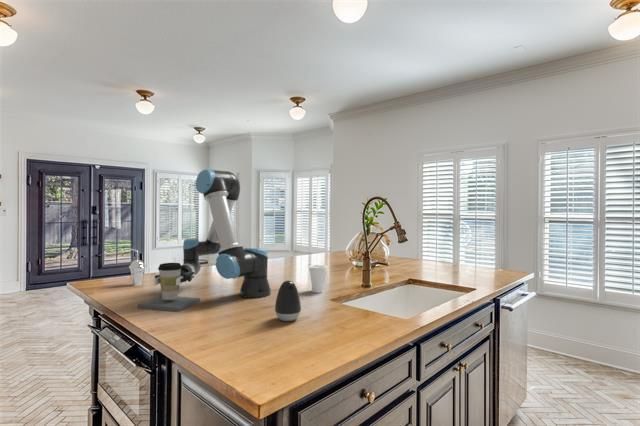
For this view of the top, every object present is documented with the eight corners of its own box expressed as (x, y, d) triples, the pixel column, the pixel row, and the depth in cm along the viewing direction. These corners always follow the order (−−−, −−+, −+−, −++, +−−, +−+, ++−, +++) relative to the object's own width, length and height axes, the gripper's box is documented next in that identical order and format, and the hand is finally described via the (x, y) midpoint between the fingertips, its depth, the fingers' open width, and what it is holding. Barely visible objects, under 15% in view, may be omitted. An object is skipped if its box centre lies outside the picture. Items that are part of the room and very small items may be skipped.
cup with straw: (132, 287, 187) (132, 250, 186) (125, 284, 193) (125, 248, 193) (148, 284, 193) (148, 248, 193) (141, 282, 199) (141, 247, 199)
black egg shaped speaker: (280, 325, 130) (280, 284, 129) (271, 317, 139) (271, 279, 139) (305, 321, 134) (305, 282, 134) (294, 313, 144) (295, 277, 143)
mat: (200, 301, 161) (200, 298, 161) (178, 311, 145) (178, 307, 145) (162, 298, 165) (162, 295, 165) (137, 307, 150) (137, 304, 150)
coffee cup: (176, 301, 150) (176, 266, 150) (153, 300, 150) (153, 266, 150) (185, 295, 160) (185, 262, 160) (164, 294, 160) (164, 262, 160)
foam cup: (330, 290, 184) (330, 266, 183) (321, 294, 176) (321, 268, 176) (315, 288, 189) (315, 264, 188) (305, 291, 181) (305, 266, 181)
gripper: (206, 279, 174) (190, 290, 151) (162, 279, 173) (140, 290, 150) (206, 264, 173) (191, 273, 151) (162, 264, 173) (140, 273, 150)
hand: (165, 282), depth 151 cm, fingers closed on coffee cup, 9 cm apart
